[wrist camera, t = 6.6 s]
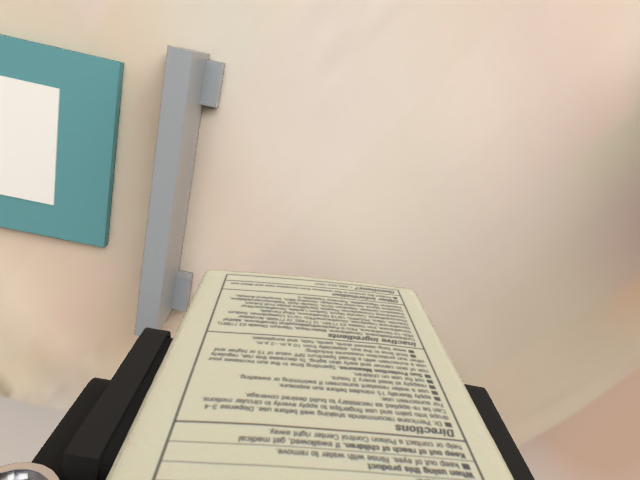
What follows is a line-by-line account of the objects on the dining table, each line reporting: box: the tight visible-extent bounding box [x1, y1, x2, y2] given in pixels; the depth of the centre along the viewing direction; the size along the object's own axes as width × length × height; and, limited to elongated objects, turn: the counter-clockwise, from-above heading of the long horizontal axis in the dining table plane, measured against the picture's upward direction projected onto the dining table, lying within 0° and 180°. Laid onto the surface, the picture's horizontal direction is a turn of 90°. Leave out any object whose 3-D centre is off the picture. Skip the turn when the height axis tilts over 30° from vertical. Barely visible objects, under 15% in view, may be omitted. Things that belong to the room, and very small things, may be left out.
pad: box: [0, 34, 124, 247], centre depth 28 cm, size 11×11×1 cm
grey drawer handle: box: [134, 46, 225, 336], centre depth 28 cm, size 3×16×4 cm, turn 167°
